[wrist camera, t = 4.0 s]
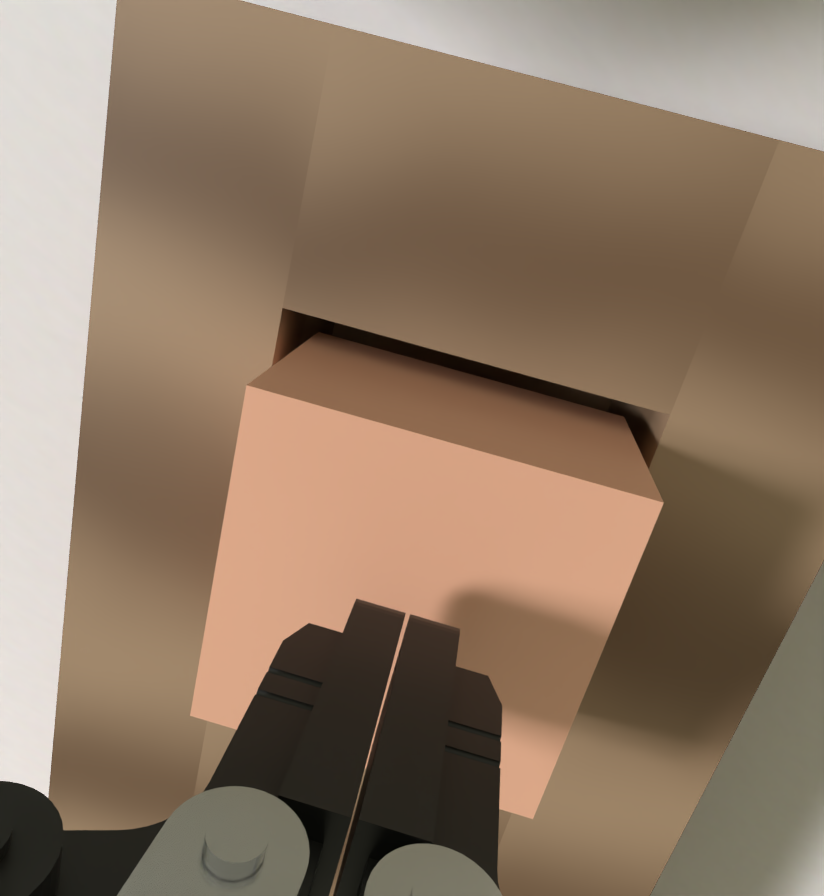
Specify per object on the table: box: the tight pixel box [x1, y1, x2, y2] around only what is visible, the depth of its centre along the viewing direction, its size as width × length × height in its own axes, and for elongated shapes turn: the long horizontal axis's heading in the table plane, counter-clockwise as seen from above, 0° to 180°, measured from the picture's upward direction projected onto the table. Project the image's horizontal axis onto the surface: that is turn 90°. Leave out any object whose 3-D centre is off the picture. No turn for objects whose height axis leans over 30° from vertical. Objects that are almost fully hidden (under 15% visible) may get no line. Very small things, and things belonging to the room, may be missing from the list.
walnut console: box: [48, 0, 824, 896], centre depth 20 cm, size 32×14×6 cm, turn 165°
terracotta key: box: [190, 332, 664, 819], centre depth 13 cm, size 6×6×4 cm
